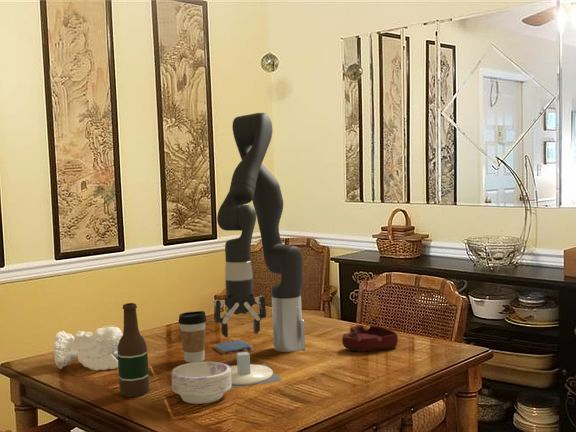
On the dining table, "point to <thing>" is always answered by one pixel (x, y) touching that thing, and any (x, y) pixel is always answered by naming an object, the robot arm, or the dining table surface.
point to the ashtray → (369, 338)
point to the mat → (272, 379)
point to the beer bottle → (132, 357)
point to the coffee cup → (193, 335)
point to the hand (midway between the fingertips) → (240, 335)
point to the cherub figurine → (88, 348)
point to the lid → (248, 371)
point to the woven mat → (233, 347)
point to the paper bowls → (201, 381)
